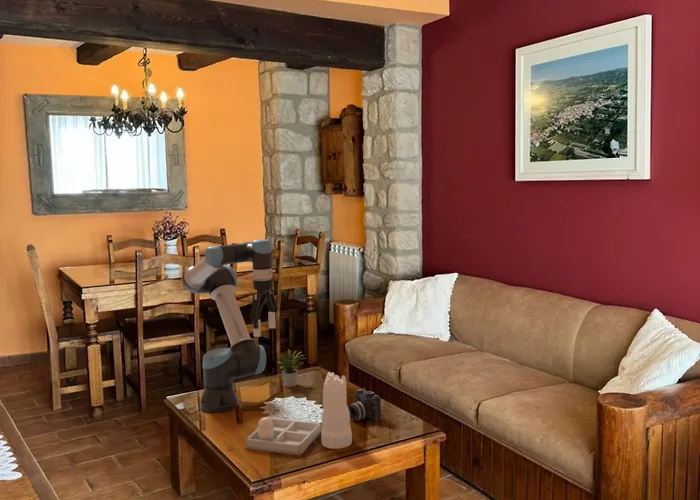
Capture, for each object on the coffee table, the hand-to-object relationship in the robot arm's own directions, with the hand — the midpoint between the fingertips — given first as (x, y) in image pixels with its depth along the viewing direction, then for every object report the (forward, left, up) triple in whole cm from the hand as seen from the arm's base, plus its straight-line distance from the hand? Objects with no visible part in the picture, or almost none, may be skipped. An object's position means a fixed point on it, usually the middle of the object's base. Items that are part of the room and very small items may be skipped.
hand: (264, 332), depth 264 cm
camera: (+38, +4, -33) cm, 51 cm away
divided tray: (+18, -24, -33) cm, 44 cm away
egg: (+13, -29, -32) cm, 45 cm away
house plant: (-4, +31, -33) cm, 45 cm away
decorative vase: (+37, -21, -33) cm, 53 cm away
